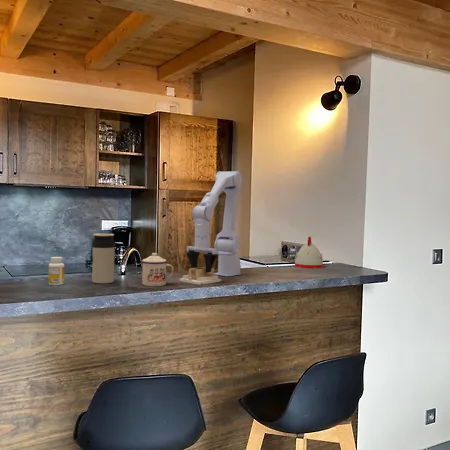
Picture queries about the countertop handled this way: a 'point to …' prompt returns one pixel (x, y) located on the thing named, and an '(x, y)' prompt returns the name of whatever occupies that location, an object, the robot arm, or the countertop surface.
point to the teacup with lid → (155, 271)
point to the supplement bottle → (56, 271)
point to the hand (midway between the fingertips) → (201, 271)
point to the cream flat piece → (200, 279)
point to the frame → (200, 272)
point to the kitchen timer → (309, 256)
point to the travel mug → (103, 258)
